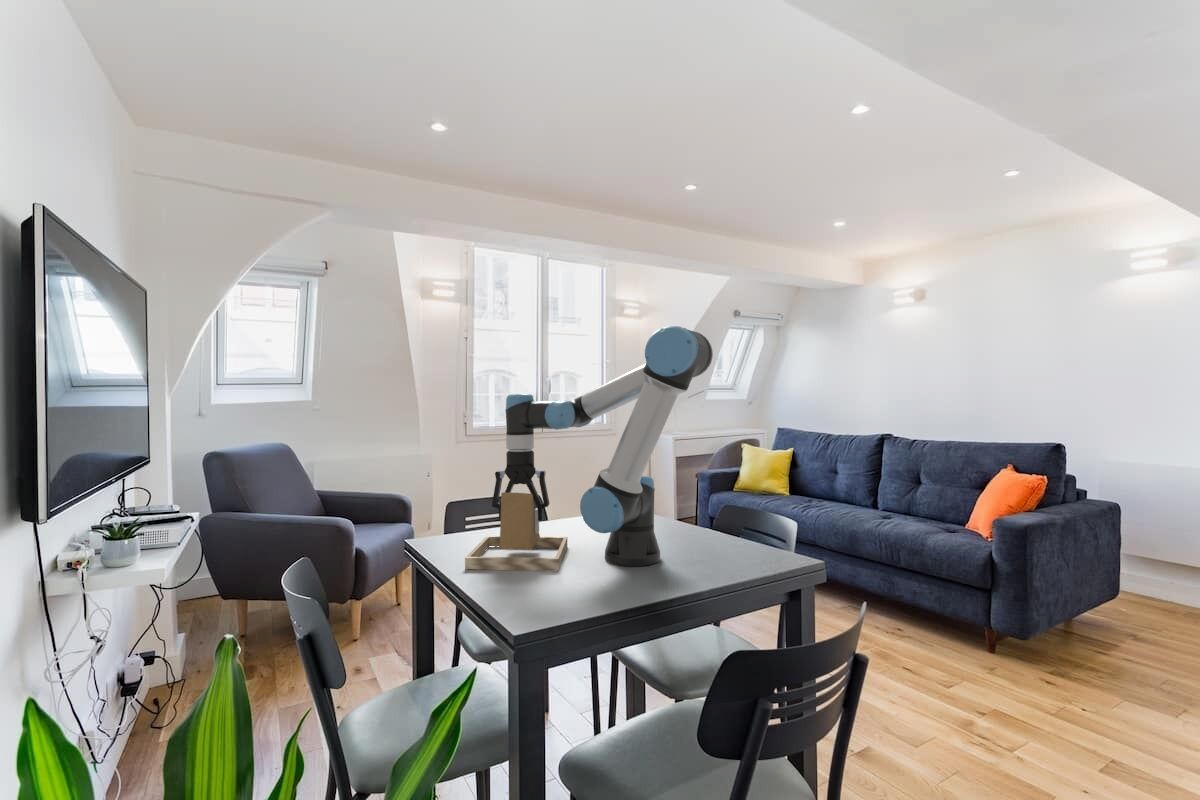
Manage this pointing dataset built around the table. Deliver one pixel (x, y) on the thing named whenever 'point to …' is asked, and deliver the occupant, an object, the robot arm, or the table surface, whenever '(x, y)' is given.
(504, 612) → the table surface
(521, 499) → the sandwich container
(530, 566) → the pale wooden box
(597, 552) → the table surface
